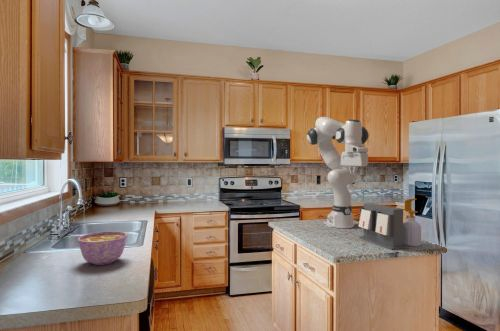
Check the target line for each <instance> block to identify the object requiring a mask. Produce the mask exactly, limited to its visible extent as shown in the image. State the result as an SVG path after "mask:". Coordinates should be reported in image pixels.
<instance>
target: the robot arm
mask: <svg viewBox="0 0 500 331" xmlns="http://www.w3.org/2000/svg"><path fill="white" fill-rule="evenodd" d="M314 125H315V127H314V128H310V130H309V131H307V133H306V139H307V142H308V143H309V144H310V145H313V146H315V145H317V149H318V151H319V154H320V157H321V158H322V159H323V162H324V163H325V165H326V167H328V168H329V169H330V170H329V172H328V174H327V176H326V177H327V181H328V183H329V184H330V185H331V189H332V192H333V205H332V210H331V212H329V213H328V214H327V216H326V220H325V221H323V224H324V225H325V226H327V227H329V228H337V229H352V228H354V227H355V226H356V224H355V223H354V214H353V213H352V211H353V207H352V194H351V192H350V191H349V188H348V185H352V184H353V183H355V182H356V181H357V180H358V173H357V172H358V169H359V167H367V166H368V164H369V154H368V152H369V148H368V147H366V146H365V145H364V144H365V143H366V142H367V141H368V139H369V136H370V135H369V132H368V129H366V127H364V126H362V122H361V120H359V119H346V120H345V123H343V122H341V121H339V120H335V119H333V118H331V117H328V116H320V117H318V118H317V119H316V120H315V124H314ZM332 140H335V141H336V142H337V143H338V144H342V145H343V144H344V149H343V151H342V153H341V154H340V153H339V151H338V150H337V148H336V146H335V145H334V144H333V141H332Z"/></svg>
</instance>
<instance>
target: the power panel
mask: <svg viewBox="0 0 500 331" xmlns="http://www.w3.org/2000/svg"><path fill="white" fill-rule="evenodd" d="M362 209H364V210H368V211H371V226H370V230H368V229H365V228H362V230H363V235H359V239H361V240H363V241H366V242H369V243H371V244H374V245H377V246H380V247H382V248H385V249H387V250H390V251H397V250H406V249H408V247H409V246H407V245H404V244H403V223H404V208H399V207H395V206H394V207H393V206H389V205H383V204H378V203H373V202H369V203H368V202H367V203H363V207H359V217H360V216H361V210H362ZM378 213H381V214H385V215H389V234H388V235H383V234H380V233H377V232H375V231H376V222H377V214H378Z"/></svg>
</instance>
